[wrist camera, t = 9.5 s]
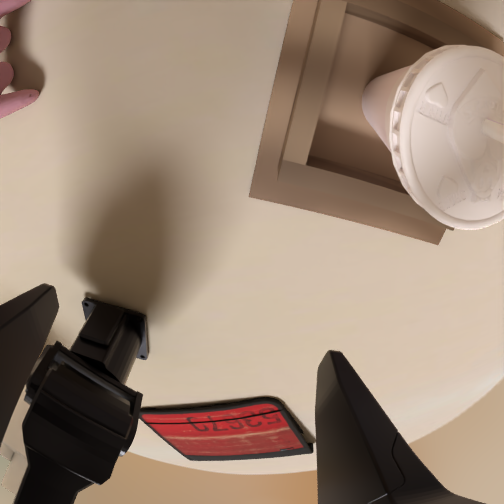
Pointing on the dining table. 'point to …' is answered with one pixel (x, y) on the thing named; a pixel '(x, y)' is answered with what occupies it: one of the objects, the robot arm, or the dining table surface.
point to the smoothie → (446, 132)
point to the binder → (229, 430)
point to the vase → (15, 447)
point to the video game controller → (1, 73)
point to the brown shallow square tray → (349, 108)
